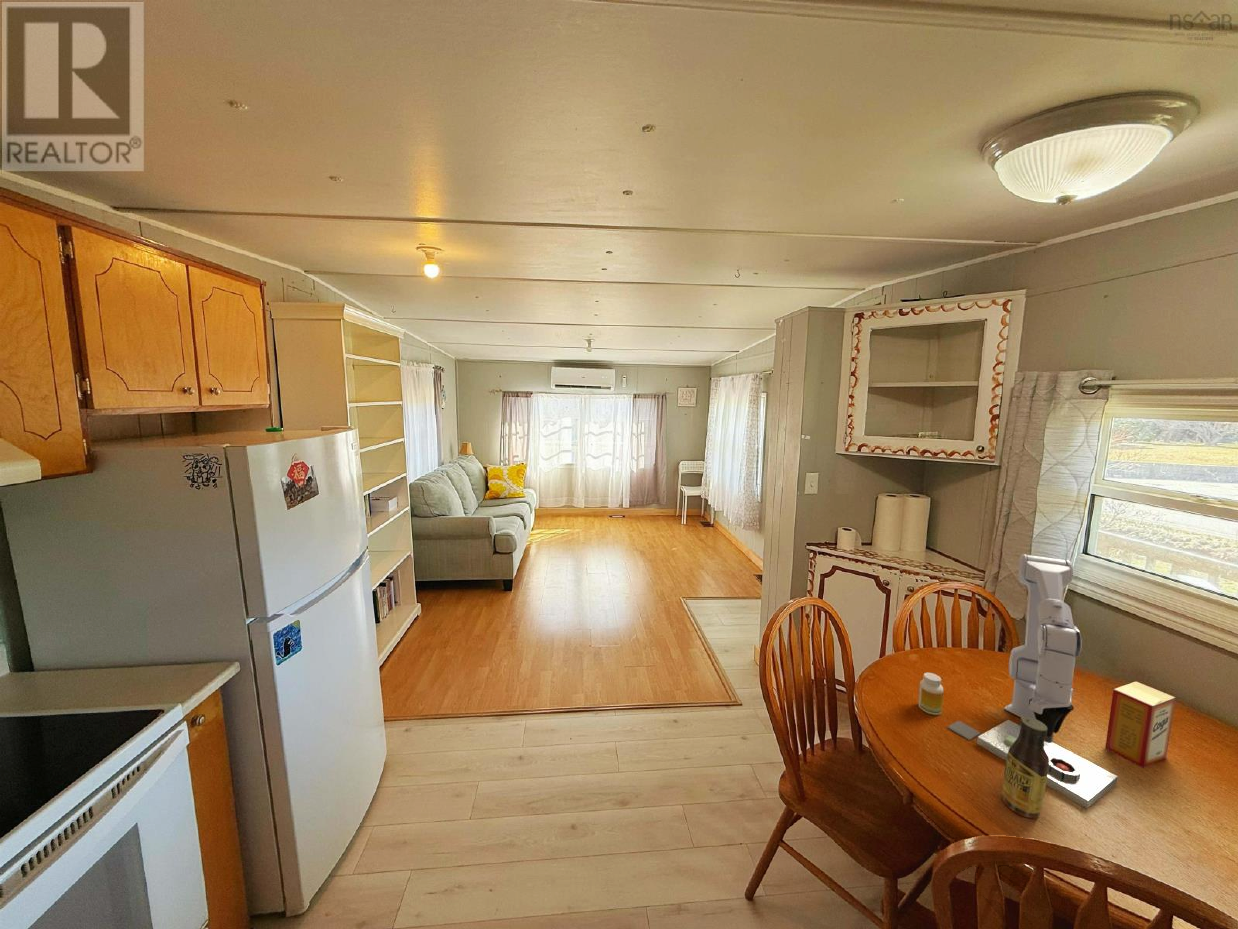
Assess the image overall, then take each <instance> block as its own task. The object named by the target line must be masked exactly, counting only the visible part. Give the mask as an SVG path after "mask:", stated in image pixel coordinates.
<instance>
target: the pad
mask: <svg viewBox="0 0 1238 929" xmlns="http://www.w3.org/2000/svg"><path fill="white" fill-rule="evenodd" d="M1016 740H1017V739H1016V738H1014V737H1013V736H1011V735H1010V736H1008V737H1006V738H1005V743H1006V744H1008V745H1009V746H1012V745H1013V743H1014V742H1015V741H1016Z"/></svg>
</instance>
